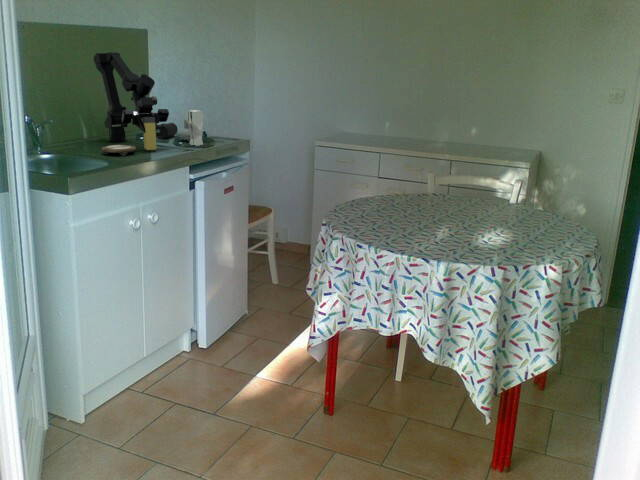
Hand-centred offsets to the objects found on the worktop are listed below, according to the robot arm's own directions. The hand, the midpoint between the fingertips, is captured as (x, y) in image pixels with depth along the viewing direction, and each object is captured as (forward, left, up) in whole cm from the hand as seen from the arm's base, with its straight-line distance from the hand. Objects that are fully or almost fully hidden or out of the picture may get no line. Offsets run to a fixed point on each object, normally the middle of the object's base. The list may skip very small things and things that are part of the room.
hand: (150, 132), depth 263 cm
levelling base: (-8, -10, -8) cm, 15 cm away
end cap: (-19, +35, -8) cm, 41 cm away
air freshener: (-4, +34, -8) cm, 35 cm away
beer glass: (+5, +25, -8) cm, 27 cm away
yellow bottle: (-1, +1, -7) cm, 7 cm away
